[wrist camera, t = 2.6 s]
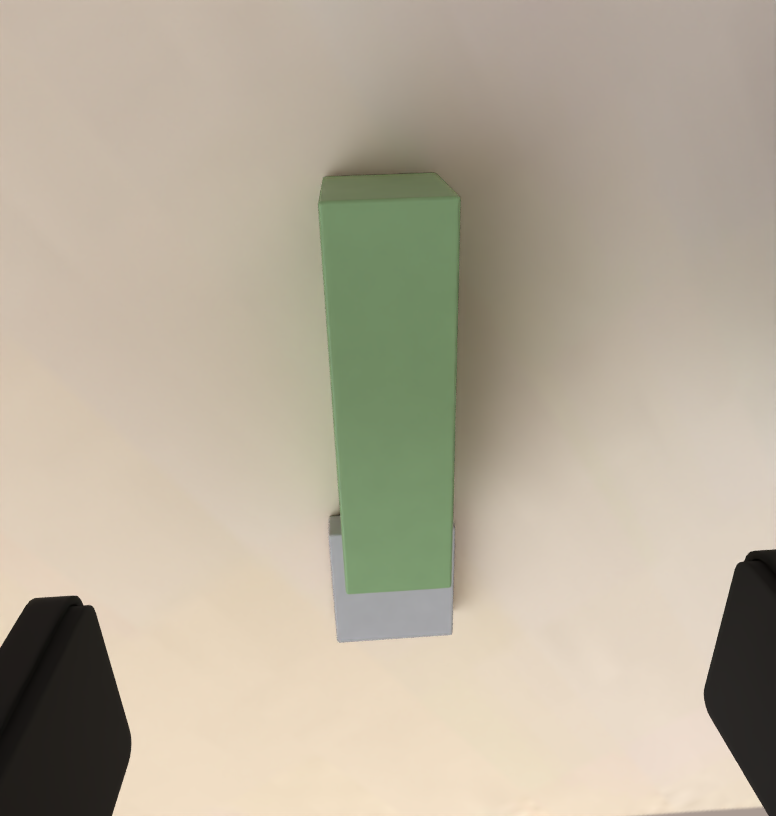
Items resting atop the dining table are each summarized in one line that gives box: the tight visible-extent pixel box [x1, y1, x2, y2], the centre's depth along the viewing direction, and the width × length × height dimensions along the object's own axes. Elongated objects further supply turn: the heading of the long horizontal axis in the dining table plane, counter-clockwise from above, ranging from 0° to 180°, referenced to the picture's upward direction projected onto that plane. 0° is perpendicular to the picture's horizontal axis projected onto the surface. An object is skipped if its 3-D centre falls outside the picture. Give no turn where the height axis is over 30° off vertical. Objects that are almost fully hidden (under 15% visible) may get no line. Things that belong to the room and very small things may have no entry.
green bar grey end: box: [318, 173, 461, 643], centre depth 18 cm, size 14×4×4 cm, turn 2°
